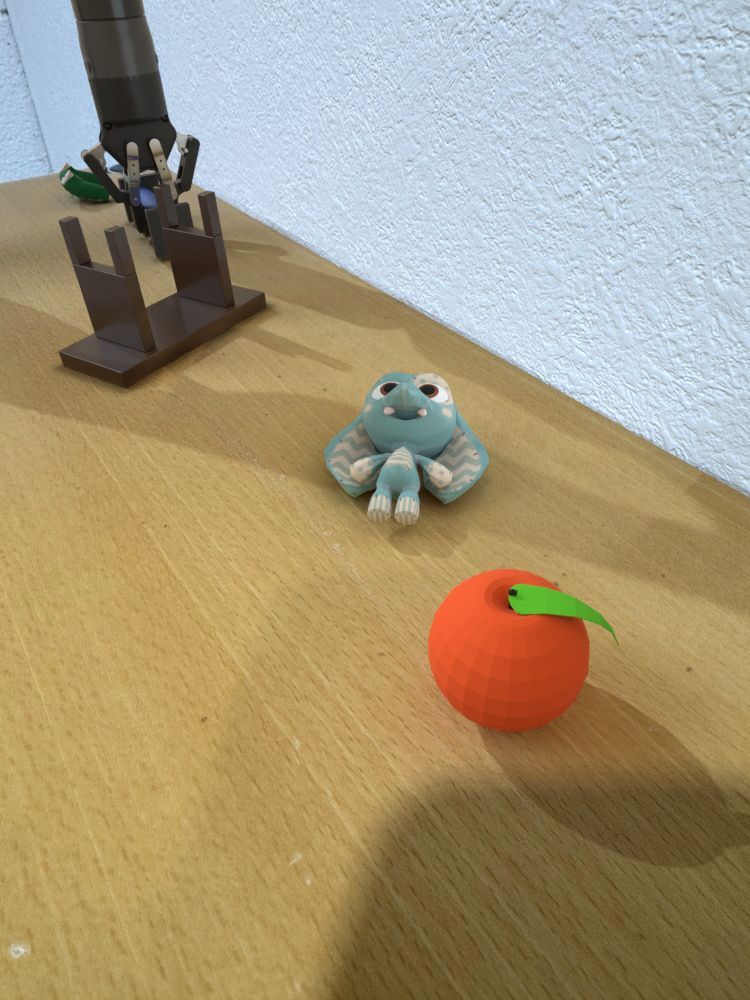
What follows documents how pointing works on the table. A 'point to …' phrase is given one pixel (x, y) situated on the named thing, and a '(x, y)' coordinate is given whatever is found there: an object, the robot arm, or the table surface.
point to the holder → (167, 323)
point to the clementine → (511, 649)
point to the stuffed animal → (406, 447)
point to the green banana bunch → (82, 184)
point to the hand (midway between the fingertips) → (160, 232)
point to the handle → (156, 212)
